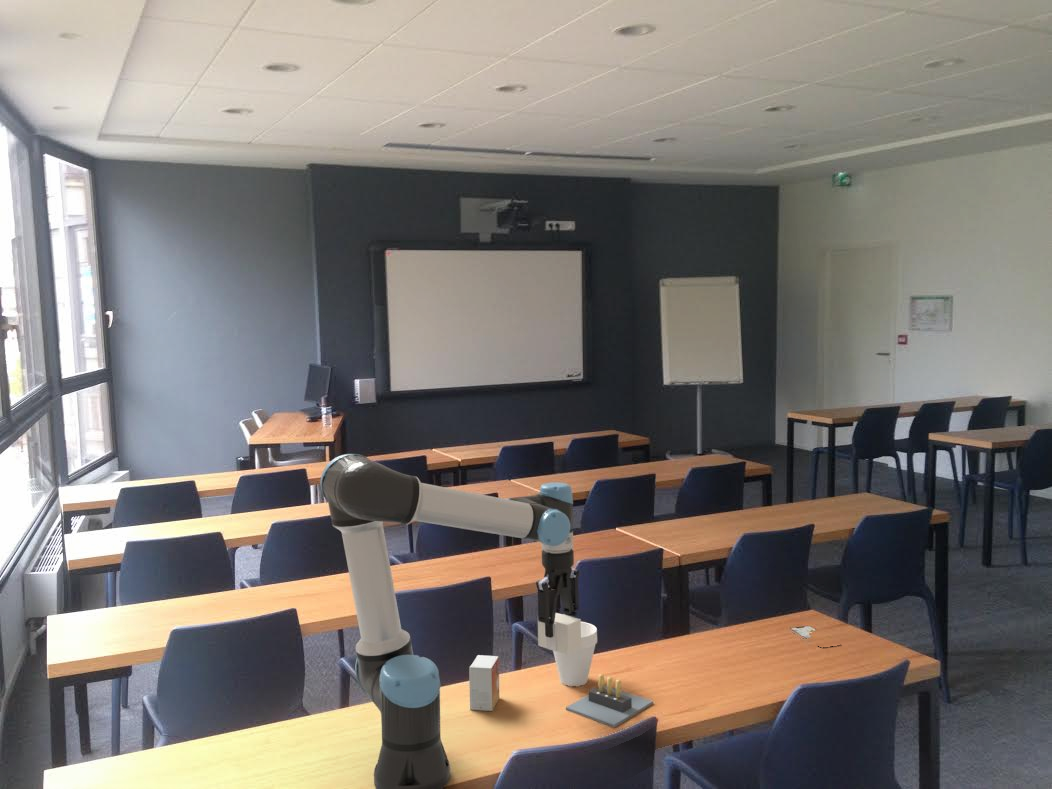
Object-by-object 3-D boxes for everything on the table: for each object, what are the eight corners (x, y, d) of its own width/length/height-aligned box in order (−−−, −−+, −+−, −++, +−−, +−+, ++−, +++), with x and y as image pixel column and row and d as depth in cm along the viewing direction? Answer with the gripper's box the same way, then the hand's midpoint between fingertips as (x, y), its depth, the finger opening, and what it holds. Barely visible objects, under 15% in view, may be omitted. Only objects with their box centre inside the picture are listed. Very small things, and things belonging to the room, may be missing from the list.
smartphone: (819, 647, 232) (788, 628, 247) (819, 651, 232) (788, 631, 247) (842, 644, 234) (809, 625, 249) (842, 648, 234) (809, 629, 249)
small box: (492, 712, 196) (491, 668, 195) (469, 710, 197) (468, 667, 196) (500, 697, 204) (499, 655, 203) (478, 695, 205) (477, 654, 204)
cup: (606, 686, 209) (605, 633, 208) (561, 694, 205) (561, 640, 204) (585, 668, 221) (584, 618, 220) (542, 675, 216) (541, 624, 215)
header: (614, 727, 187) (613, 697, 187) (565, 709, 196) (565, 680, 196) (653, 703, 199) (653, 675, 199) (605, 687, 208) (605, 660, 208)
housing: (568, 654, 191) (567, 625, 191) (538, 645, 197) (537, 617, 197) (581, 648, 195) (580, 619, 195) (551, 639, 201) (551, 611, 201)
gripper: (545, 560, 185) (547, 661, 187) (593, 543, 199) (595, 638, 201) (520, 555, 190) (522, 653, 192) (568, 539, 204) (570, 631, 206)
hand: (559, 645), depth 196 cm, fingers closed on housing, 5 cm apart
